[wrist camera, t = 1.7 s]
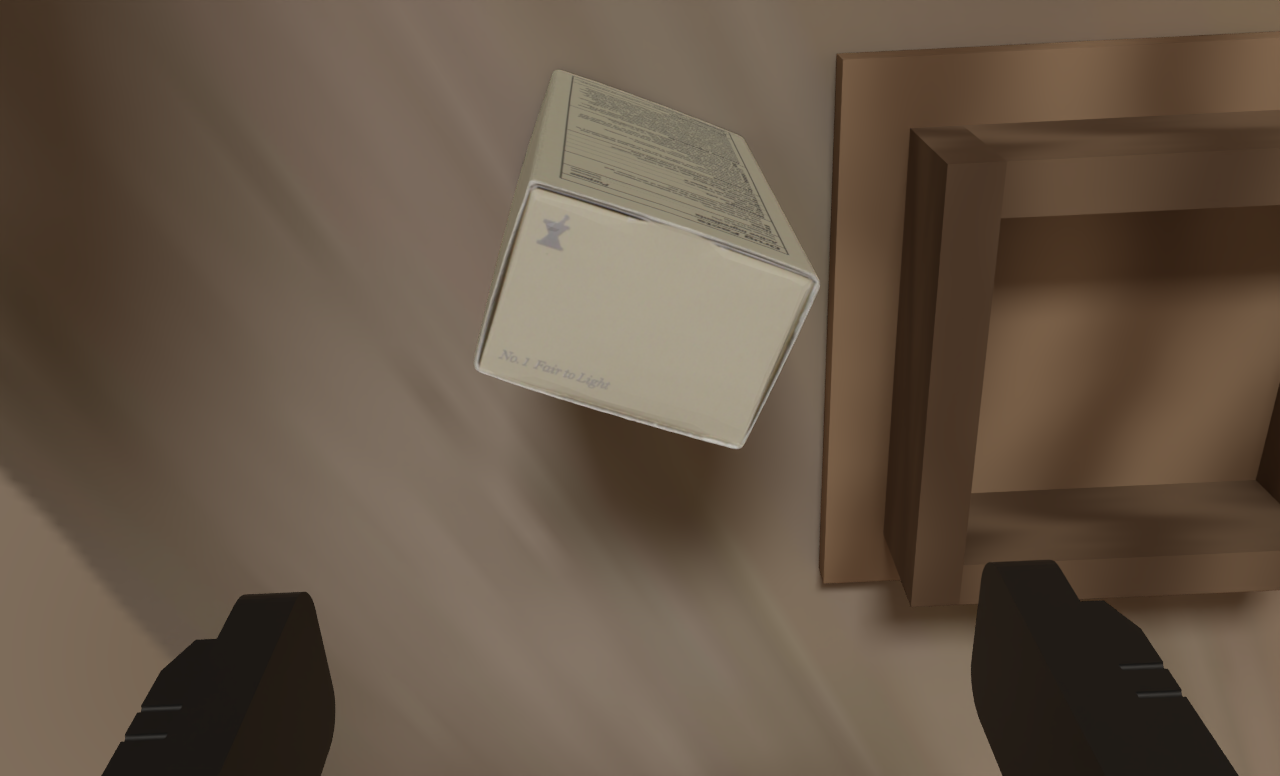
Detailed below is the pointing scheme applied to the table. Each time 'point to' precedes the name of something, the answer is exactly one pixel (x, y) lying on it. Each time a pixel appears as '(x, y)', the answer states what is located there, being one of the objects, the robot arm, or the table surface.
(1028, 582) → the robot arm
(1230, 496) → the brown wooden tray
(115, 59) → the table surface
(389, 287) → the table surface
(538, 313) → the skincare box
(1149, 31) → the table surface
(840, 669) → the table surface
